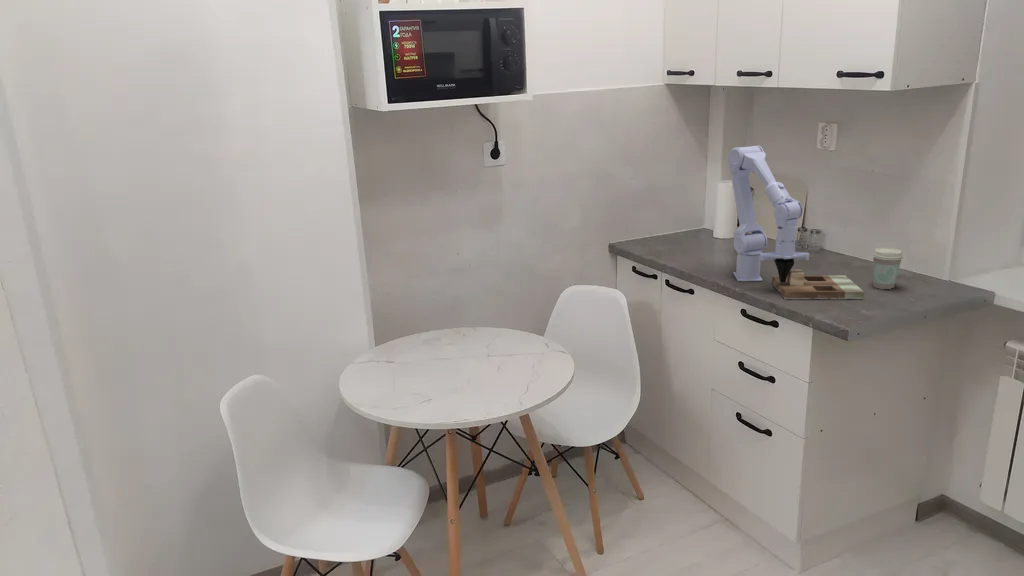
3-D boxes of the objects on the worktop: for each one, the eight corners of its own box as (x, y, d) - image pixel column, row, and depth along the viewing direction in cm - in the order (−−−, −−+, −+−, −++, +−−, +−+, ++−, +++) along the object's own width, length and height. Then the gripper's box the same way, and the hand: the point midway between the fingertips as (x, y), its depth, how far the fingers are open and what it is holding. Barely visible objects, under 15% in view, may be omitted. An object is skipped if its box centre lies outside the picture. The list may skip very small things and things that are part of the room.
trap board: (771, 283, 234) (772, 275, 234) (844, 282, 232) (845, 275, 231) (784, 299, 218) (785, 292, 218) (863, 299, 216) (864, 291, 215)
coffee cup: (864, 287, 226) (868, 251, 223) (874, 281, 232) (878, 245, 228) (893, 292, 221) (898, 255, 217) (902, 286, 226) (907, 250, 223)
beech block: (786, 281, 227) (787, 269, 226) (799, 281, 227) (800, 269, 226) (790, 285, 223) (791, 273, 222) (803, 285, 223) (804, 273, 222)
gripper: (764, 243, 218) (761, 285, 222) (813, 242, 216) (809, 285, 221) (759, 237, 225) (756, 278, 229) (807, 237, 223) (803, 278, 227)
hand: (782, 281), depth 225 cm, fingers closed
